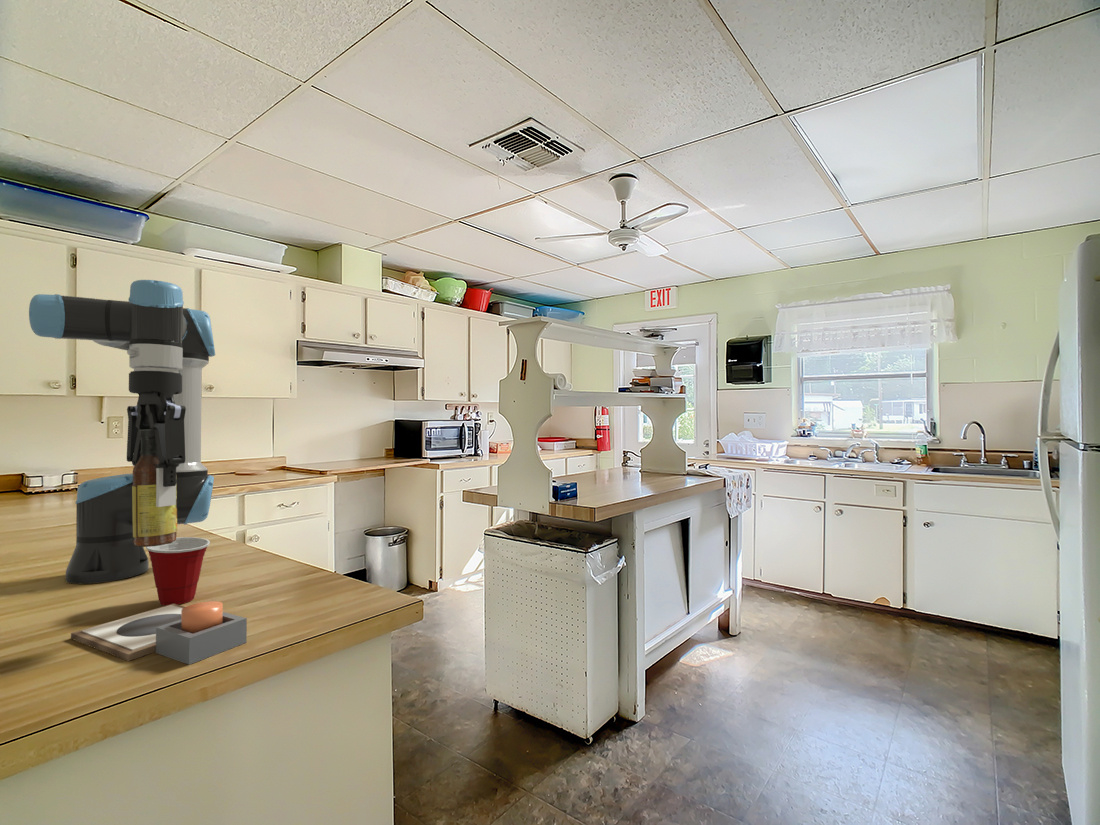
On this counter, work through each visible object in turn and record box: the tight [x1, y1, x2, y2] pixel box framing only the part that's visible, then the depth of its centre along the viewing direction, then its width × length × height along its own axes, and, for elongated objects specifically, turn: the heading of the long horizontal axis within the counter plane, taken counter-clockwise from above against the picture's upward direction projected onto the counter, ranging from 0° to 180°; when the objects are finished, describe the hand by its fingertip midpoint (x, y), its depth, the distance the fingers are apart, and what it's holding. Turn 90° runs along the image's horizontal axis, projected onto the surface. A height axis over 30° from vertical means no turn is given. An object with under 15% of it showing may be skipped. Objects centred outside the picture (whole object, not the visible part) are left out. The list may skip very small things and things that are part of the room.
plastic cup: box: [145, 536, 211, 606], centre depth 109 cm, size 11×11×12 cm
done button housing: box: [155, 611, 248, 665], centre depth 87 cm, size 9×9×4 cm
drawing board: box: [70, 604, 185, 662], centre depth 93 cm, size 18×16×1 cm
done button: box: [181, 600, 224, 634], centre depth 87 cm, size 6×6×4 cm
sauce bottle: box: [132, 429, 178, 548], centre depth 93 cm, size 6×6×20 cm
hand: (154, 504), depth 93 cm, fingers closed on sauce bottle, 6 cm apart
